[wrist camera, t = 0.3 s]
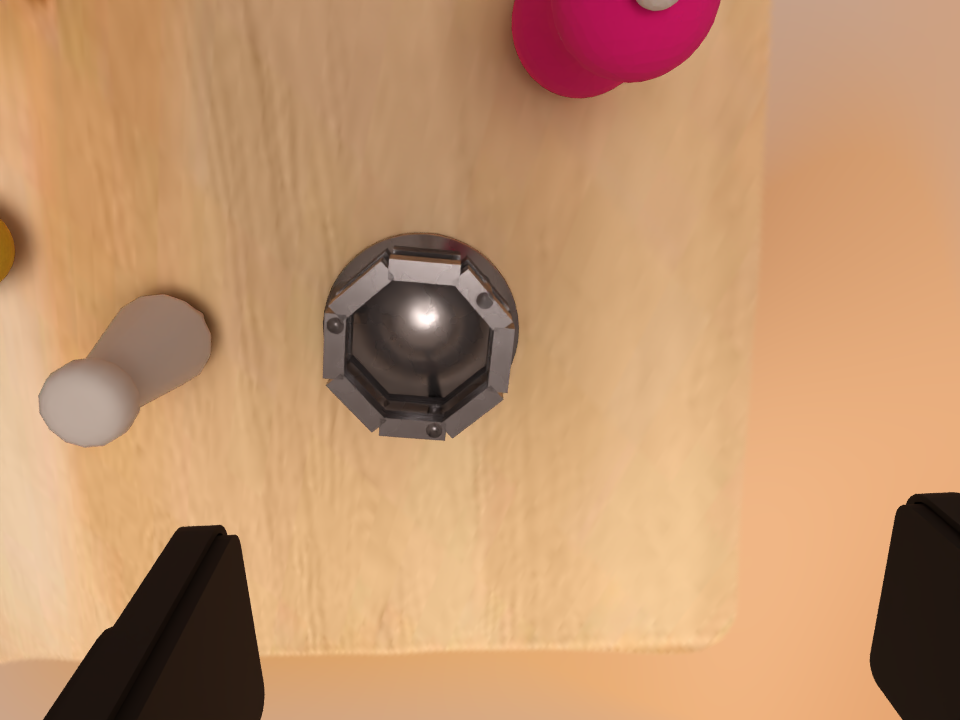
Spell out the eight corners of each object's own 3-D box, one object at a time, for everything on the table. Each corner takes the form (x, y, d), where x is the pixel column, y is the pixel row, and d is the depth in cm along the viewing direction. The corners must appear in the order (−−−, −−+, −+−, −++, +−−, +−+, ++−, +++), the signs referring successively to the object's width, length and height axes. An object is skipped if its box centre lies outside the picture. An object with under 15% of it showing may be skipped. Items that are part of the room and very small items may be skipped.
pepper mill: (658, 44, 41) (824, 4, 23) (553, 123, 43) (629, 147, 24) (588, -73, 39) (709, -225, 21) (480, 14, 41) (501, -54, 22)
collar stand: (284, 317, 46) (265, 341, 42) (432, 190, 44) (429, 201, 39) (412, 450, 50) (408, 486, 45) (556, 340, 47) (567, 366, 43)
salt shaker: (121, 354, 47) (2, 446, 35) (139, 272, 45) (21, 338, 33) (211, 383, 48) (126, 482, 35) (232, 303, 46) (151, 379, 34)
